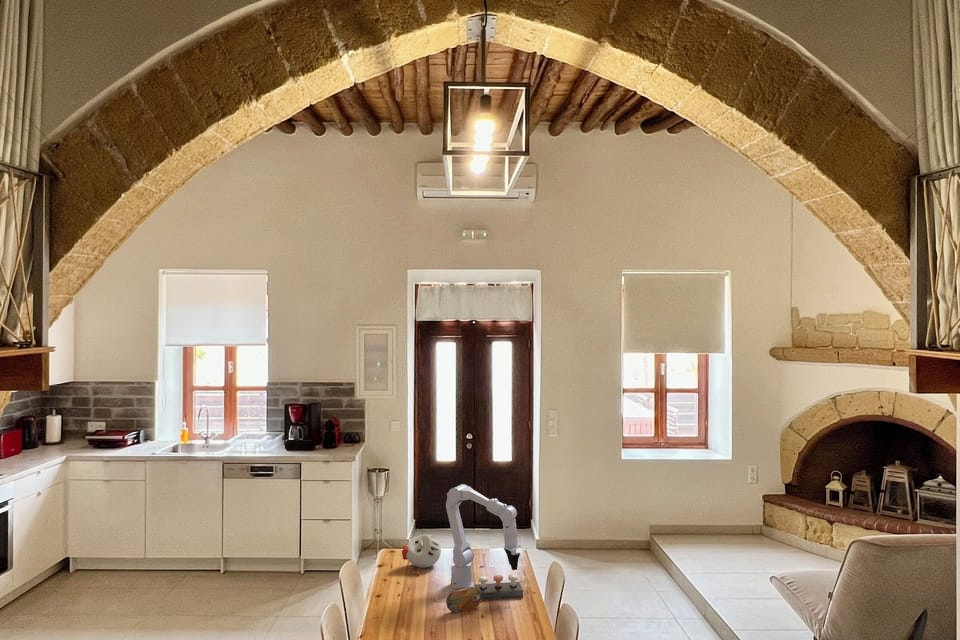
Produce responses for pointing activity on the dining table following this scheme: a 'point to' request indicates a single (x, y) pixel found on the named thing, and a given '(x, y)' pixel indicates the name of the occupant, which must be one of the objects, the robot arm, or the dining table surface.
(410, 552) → the decorative object
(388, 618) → the dining table surface
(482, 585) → the knob
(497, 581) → the middle knob
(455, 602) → the multicolored oval slab
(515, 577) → the knob
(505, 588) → the knob plate
